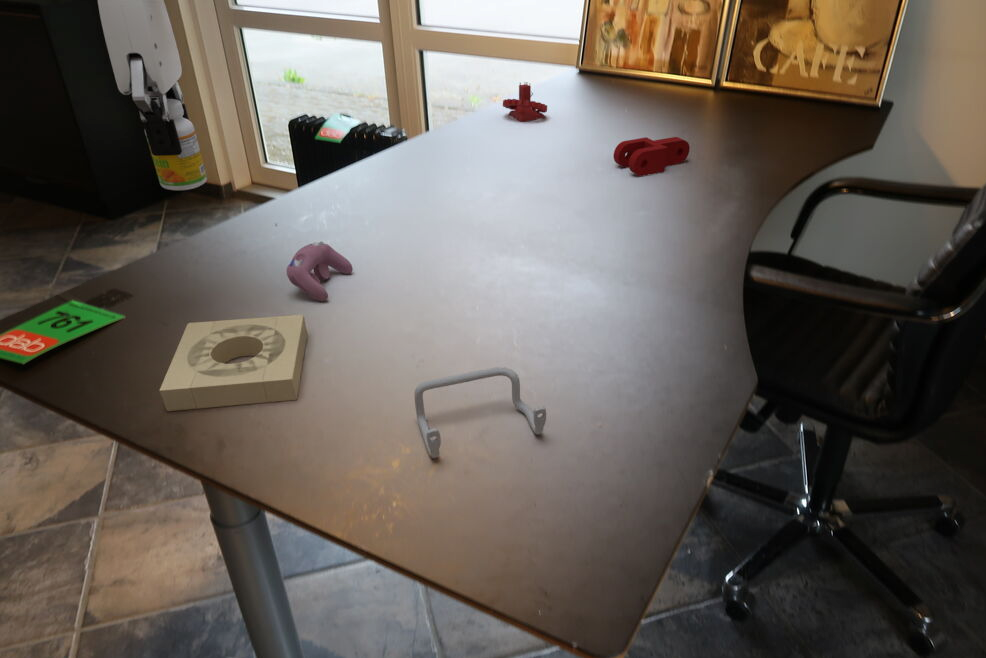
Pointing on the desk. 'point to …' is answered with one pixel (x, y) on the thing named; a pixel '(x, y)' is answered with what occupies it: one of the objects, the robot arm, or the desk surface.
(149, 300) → the desk surface
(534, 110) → the red cross-shaped piece
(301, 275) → the video game controller
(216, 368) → the socket pad
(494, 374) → the bracket
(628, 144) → the mechanical linkage
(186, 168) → the supplement bottle
